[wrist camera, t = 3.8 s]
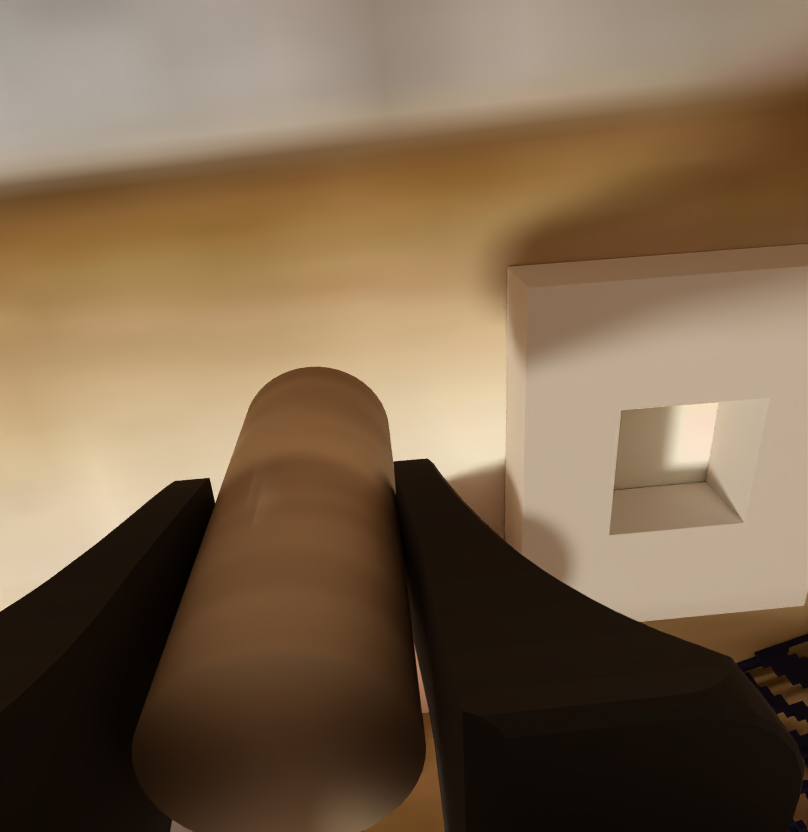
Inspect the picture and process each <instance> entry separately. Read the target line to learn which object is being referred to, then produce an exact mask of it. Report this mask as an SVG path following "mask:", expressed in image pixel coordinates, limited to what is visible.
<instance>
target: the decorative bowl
mask: <svg viewBox="0 0 808 832" xmlns="http://www.w3.org/2000/svg"><path fill="white" fill-rule="evenodd" d="M806 641H808V634H806V635H803V636H800V637H797V638H795V639H792V640H789V641H786V642H783V643H780V644H777V645H774V646H771V647H769V648H766V649H763V650H760V651H757V652H754V653H755V657H753V658H750V659H747V660H744V661H741V662H738V663H737V666H738V667H739V668H740V669H741V670H742V672H745V671H748V670H751V669H754V668H757V667H760V666H763V668H764V669H765V668H768V667H770V666H771V668H772V669H773V670H774V672H775V673H776V674H777V676H778V677H779V676H782V675H786V677H787V678H788V679H789V681H790V682H791V683H792V685H796V684H799V683H800V684H801V685H802V687H803V688H807V687H808V658H807V657H806V656H805V657H802V658H799V657H798V656H797V655H796V653H795V654H792V655H788V654H787V653H788V652H789V649H788V648H789V647H792V646H795V645H798V644H801V643H804V642H806ZM745 675H746V676H747V677H748V679H749V680H750V681H751V682H752V683H753V684H754V685H755V687H756V688H757V689H758V690H759V691H760V693H761V694H762V695H763V697H764V698H765V699H766V701H767V702H768V703H769V705H770V706H771V707H772V708H773V710H774V711H775V713H776V714H778V713H781V712H784V714H785V715H786V717H787V718H788V717H791V716H795V717H796V719H797V720H798V721H801V720H804V719H806V721H807V722H808V706H806V705H805V704H804V702H803V701H801V702H798V703H795V704H792V705H788V703H787V702H786V701H785V699H784V698H783V697H782V695H781V694H780V695H777V696H774V695H773V694H772V693H771V691H770V690H769V689H768V687H767V686H763V687H759V686H758V684H757V683H756V681H755V680H754V679H753V677H752V676H751V674H750V673H749V672H748V673H745ZM786 729H787V728H786ZM788 732H789V731H788ZM789 733H790V734H791V736H792V737H793V739H794V740H795V741H796V743H797V744H798V747H799V750H800V753H801V756H802V757H803V759H804V762H805V765H806V766H807V767H808V734H805V735H801V736H800V735H799V733H798V732H797V731H796V730H793V731H790V732H789ZM803 793H805V794H806V797H807V799H808V780H807V779H806V780H803V783H802V790H801V793H800V794H803ZM788 832H808V831H807V827H806V825H805V824H804V822H803V821H802V820H800V821H797V822H794V820H793V819H792V821H791V825H790V828H789V831H788Z"/></svg>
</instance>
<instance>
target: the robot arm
mask: <svg viewBox="0 0 808 832" xmlns="http://www.w3.org/2000/svg"><path fill="white" fill-rule="evenodd" d="M393 463H394V476H395V489H396V500H397V508H398V517H399V526H400V532H401V538H402V545H403V553H404V562H405V570H406V579H407V587H408V596H409V605H410V613H411V622H412V630H413V639H414V645H415V650H416V654H417V659H418V663H419V668H420V673H421V677H422V682H423V686H424V691H425V696H426V700H427V705H428V709H429V714H430V720H431V726H432V731H433V737H434V744H435V752H436V760H437V769H438V777H439V785H440V793H441V802H442V810H443V819H444V827H445V832H788V831H789V828H790V825H791V821H792V818H793V815H794V812H795V809H796V806H797V803H798V799H799V796H800V793H801V790H802V783H803V775H804V767H805V766H804V763H803V760H802V756H801V753H800V750H799V747H798V744H797V743H796V741H795V740H794V739H793V737H792V736H791V734H790V733H789V732H788V730H787V729H786V727H785V726H784V724H783V723H782V722H781V720H780V719H779V717H778V716H777V714H776V713H775V711H774V710H773V709H772V707H771V706H770V705H769V703H768V702H767V701H766V699H765V698H764V697H763V695H762V694H761V693H760V691H759V690H758V689H757V688H756V687H755V685H754V684H753V683H752V682H751V681H750V680H749V679H748V677H747V676H746V675H745V674H744V673H743V672H742V670H741V669H740V668H739V667H738V666H737V664H736V663H735V662H734V661H733V659H732V658H731V657H728V656H726V655H723V654H720V653H718V652H715V651H712V650H709V649H707V648H704V647H701V646H699V645H696V644H693V643H691V642H688V641H685V640H682V639H680V638H677V637H674V636H672V635H669V634H666V633H663V632H661V631H658V630H656V629H654V628H651V627H649V626H647V625H645V624H643V623H640V622H638V621H636V620H634V619H632V618H629V617H627V616H625V615H623V614H621V613H619V612H616V611H614V610H612V609H610V608H608V607H606V606H605V605H603V604H601V603H599V602H597V601H595V600H593V599H591V598H589V597H587V596H586V595H584V594H582V593H580V592H579V591H577V590H575V589H574V588H572V587H570V586H568V585H567V584H565V583H563V582H561V581H560V580H558V579H557V578H555V577H553V576H552V575H550V574H549V573H547V572H546V571H544V570H543V569H541V568H540V567H538V566H537V565H536V564H534V563H533V562H531V561H530V560H529V559H527V558H526V557H524V556H523V555H522V554H520V553H519V552H518V551H516V550H515V549H514V548H513V547H512V546H510V545H509V544H508V543H507V542H506V541H505V540H503V539H502V538H501V537H500V536H499V535H498V534H497V533H496V532H494V531H493V530H492V529H491V528H490V527H489V526H488V525H487V524H486V523H485V522H484V521H483V520H482V519H481V518H480V517H479V516H478V515H477V514H476V513H475V512H474V511H473V510H472V509H471V508H470V507H469V506H468V505H467V504H466V503H465V502H464V501H463V500H462V499H461V497H460V496H459V495H458V494H457V493H456V492H455V491H454V489H453V488H452V487H451V486H450V485H449V484H448V482H447V481H446V480H445V479H444V477H443V476H442V475H441V473H440V472H439V471H438V469H437V468H436V466H435V465H434V464H433V463H432V462H431V461H430V460H429V459H417V460H406V461H394V462H393ZM214 506H215V500H214V496H213V491H212V487H211V482H210V478H204V479H193V480H182V481H174V482H173V483H171V484H170V485H168V486H167V487H166V488H164V489H163V490H162V491H160V492H159V493H158V494H157V495H155V496H154V497H153V498H152V499H150V500H149V501H148V502H147V503H146V504H144V505H143V506H142V507H141V508H140V509H138V510H137V511H136V512H135V513H134V514H132V515H131V516H130V517H129V518H128V519H126V520H125V521H124V522H123V523H121V524H120V525H119V526H118V527H117V528H115V529H114V530H113V531H112V532H110V533H109V534H108V535H107V536H106V537H104V538H103V539H102V540H101V541H99V542H98V543H97V544H96V545H94V546H93V547H92V548H90V549H89V550H88V551H86V552H85V553H84V554H82V555H81V556H80V557H78V558H77V559H76V560H74V561H73V562H72V563H70V564H69V565H68V566H66V567H65V568H64V569H62V570H61V571H60V572H58V573H57V574H56V575H54V576H53V577H52V578H50V579H49V580H48V581H46V582H45V583H43V584H42V585H40V586H39V587H38V588H36V589H35V590H33V591H32V592H30V593H29V594H27V595H26V596H24V597H23V598H21V599H20V600H18V601H16V602H15V603H13V604H12V605H10V606H8V607H7V608H5V609H4V610H2V611H1V612H0V832H193V831H191V830H189V829H187V828H185V827H183V826H181V825H180V824H178V823H177V822H175V821H173V820H172V819H170V818H169V817H168V816H167V815H165V814H164V813H163V812H162V811H161V810H159V809H158V808H157V807H156V806H155V804H154V803H153V802H152V801H151V800H150V799H149V798H148V796H147V795H146V793H145V792H144V791H143V789H142V788H141V786H140V784H139V781H138V779H137V777H136V775H135V771H134V767H133V763H132V742H133V735H134V733H135V730H136V727H137V724H138V721H139V718H140V716H141V713H142V710H143V707H144V704H145V701H146V699H147V696H148V693H149V690H150V687H151V684H152V682H153V679H154V676H155V673H156V670H157V667H158V665H159V662H160V659H161V656H162V653H163V650H164V648H165V645H166V642H167V639H168V636H169V633H170V631H171V628H172V625H173V622H174V619H175V616H176V614H177V611H178V608H179V605H180V602H181V599H182V597H183V594H184V591H185V588H186V585H187V582H188V580H189V577H190V574H191V571H192V568H193V565H194V563H195V560H196V557H197V554H198V551H199V548H200V545H201V543H202V540H203V537H204V534H205V531H206V528H207V526H208V523H209V520H210V517H211V514H212V511H213V509H214Z"/></svg>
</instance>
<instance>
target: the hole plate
mask: <svg viewBox="0 0 808 832" xmlns="http://www.w3.org/2000/svg"><path fill="white" fill-rule="evenodd" d="M714 402H719V405H718V411H717V417H716V423H715V429H714V435H713V441H712V447H711V452H710V458H709V464H708V470H707V476H706V482H700V483H689V484H678V485H667V486H656V487H645V488H634V489H623V490H614V480H615V470H616V459H617V449H618V439H619V428H620V418H621V410H632V409H644V408H656V407H667V406H679V405H690V404H702V403H714ZM505 541H506V542H507V543H508V544H509V545H510V546H512V547H513V548H514V549H515V550H516V551H518V552H519V553H520V554H522V555H523V556H524V557H526V558H527V559H529V560H530V561H531V562H533V563H534V564H536V565H537V566H538V567H540V568H541V569H543V570H544V571H546V572H547V573H549V574H550V575H552V576H553V577H555V578H557V579H558V580H560V581H561V582H563V583H565V584H567V585H568V586H570V587H572V588H574V589H575V590H577V591H579V592H580V593H582V594H584V595H586V596H587V597H589V598H591V599H593V600H595V601H597V602H599V603H601V604H603V605H605V606H606V607H608V608H610V609H612V610H614V611H616V612H619V613H621V614H623V615H625V616H627V617H629V618H632V619H634V620H636V621H638V622H644V621H654V620H664V619H674V618H685V617H695V616H705V615H715V614H725V613H735V612H745V611H755V610H765V609H776V608H786V607H796V606H804V604H805V600H806V596H807V593H808V244H797V245H784V246H771V247H758V248H745V249H732V250H719V251H706V252H693V253H680V254H667V255H654V256H641V257H628V258H615V259H602V260H589V261H576V262H563V263H550V264H537V265H524V266H511V267H508V274H507V370H506V466H505Z"/></svg>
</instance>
